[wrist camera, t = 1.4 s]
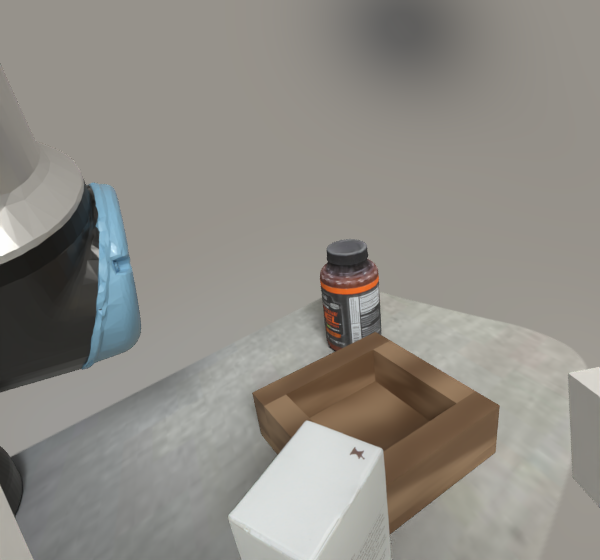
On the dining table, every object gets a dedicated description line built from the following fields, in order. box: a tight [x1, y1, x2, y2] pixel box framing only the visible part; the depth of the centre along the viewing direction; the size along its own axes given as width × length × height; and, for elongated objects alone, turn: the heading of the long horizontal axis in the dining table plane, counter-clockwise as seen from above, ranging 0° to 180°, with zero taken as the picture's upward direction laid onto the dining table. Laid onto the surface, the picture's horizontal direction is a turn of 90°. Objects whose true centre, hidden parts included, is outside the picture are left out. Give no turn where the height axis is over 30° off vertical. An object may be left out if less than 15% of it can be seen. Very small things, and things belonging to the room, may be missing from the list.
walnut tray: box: [252, 332, 500, 534], centre depth 34 cm, size 13×13×4 cm
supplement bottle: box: [320, 239, 381, 351], centre depth 45 cm, size 6×6×11 cm
